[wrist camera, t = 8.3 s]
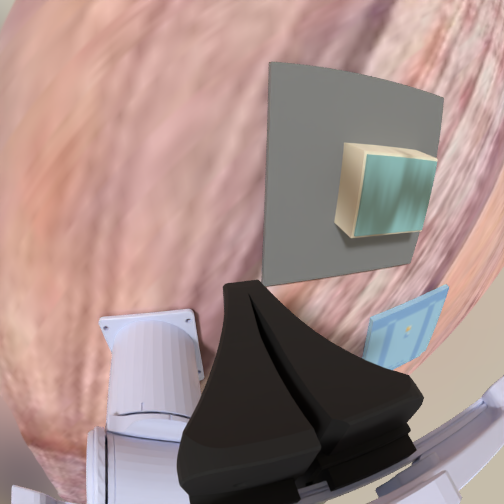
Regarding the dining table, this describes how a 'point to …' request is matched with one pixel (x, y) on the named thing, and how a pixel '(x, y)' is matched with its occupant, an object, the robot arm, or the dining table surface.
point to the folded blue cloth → (403, 330)
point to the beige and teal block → (383, 190)
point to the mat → (332, 166)
